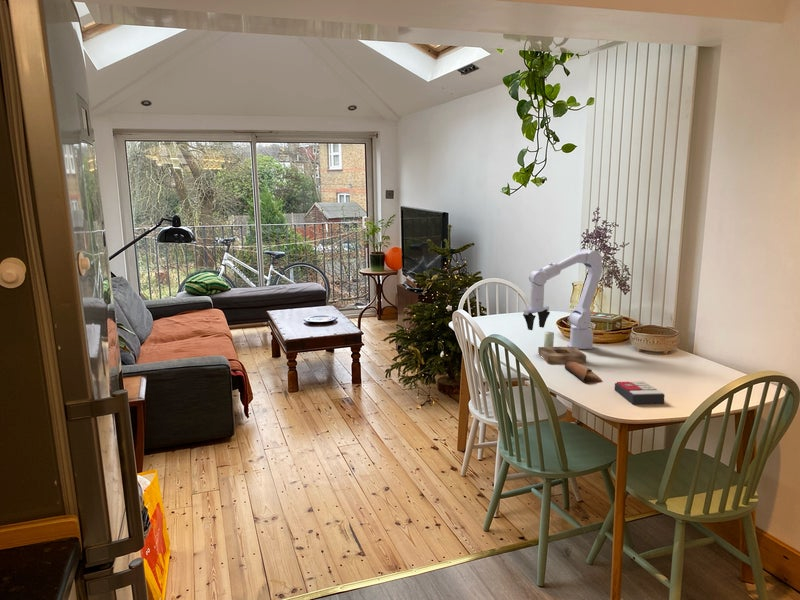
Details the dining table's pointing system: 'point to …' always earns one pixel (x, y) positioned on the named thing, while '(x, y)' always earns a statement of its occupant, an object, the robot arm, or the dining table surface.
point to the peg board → (562, 354)
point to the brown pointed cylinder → (582, 372)
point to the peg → (548, 339)
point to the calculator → (639, 393)
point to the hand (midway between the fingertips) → (535, 328)
